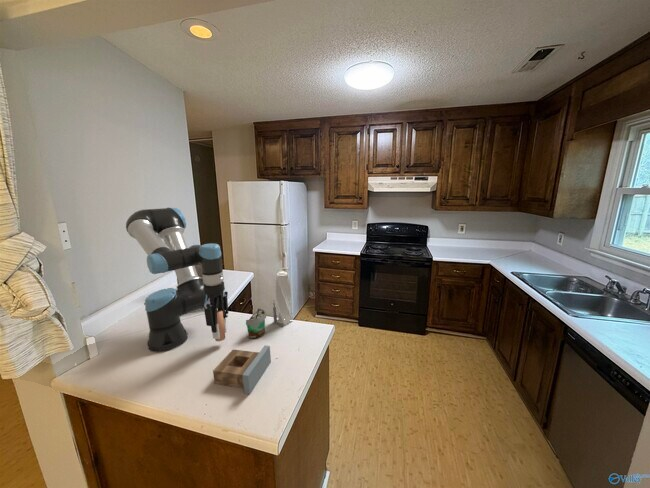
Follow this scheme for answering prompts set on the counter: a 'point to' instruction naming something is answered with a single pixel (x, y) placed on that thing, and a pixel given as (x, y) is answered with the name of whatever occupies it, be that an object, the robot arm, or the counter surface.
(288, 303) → the skyscraper
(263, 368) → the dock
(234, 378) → the block
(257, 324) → the food container
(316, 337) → the counter surface
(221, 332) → the dowel
